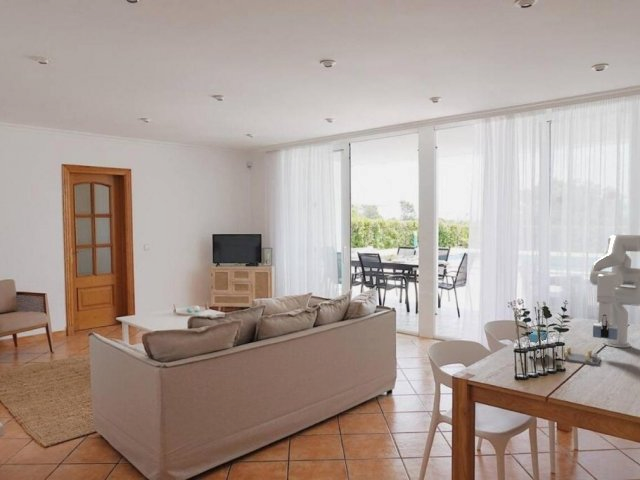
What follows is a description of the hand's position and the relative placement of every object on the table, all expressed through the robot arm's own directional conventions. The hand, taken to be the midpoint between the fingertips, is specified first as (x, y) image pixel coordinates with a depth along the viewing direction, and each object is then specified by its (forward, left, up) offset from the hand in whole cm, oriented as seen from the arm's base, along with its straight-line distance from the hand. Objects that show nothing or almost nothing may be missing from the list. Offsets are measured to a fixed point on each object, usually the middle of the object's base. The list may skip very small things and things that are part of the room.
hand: (605, 335), depth 231 cm
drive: (0, 0, -1) cm, 1 cm away
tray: (+12, -10, -11) cm, 19 cm away
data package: (+17, -27, -11) cm, 34 cm away
